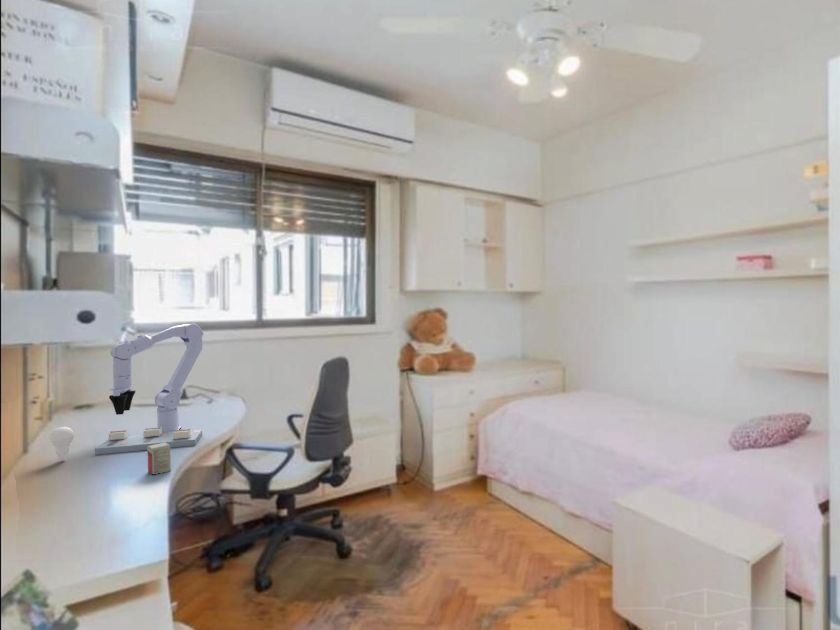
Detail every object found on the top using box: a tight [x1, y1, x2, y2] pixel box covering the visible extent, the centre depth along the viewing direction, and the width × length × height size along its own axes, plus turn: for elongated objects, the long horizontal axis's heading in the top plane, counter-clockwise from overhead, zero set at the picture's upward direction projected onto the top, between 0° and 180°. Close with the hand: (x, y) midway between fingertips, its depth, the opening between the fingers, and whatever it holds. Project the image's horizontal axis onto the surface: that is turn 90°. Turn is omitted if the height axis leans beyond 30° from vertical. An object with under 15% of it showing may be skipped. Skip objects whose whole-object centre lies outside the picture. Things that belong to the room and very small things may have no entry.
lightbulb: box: [49, 426, 75, 462], centre depth 148 cm, size 6×6×11 cm
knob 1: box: [108, 429, 129, 440], centre depth 166 cm, size 4×5×2 cm
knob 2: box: [143, 426, 162, 437], centre depth 170 cm, size 4×5×2 cm
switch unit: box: [94, 429, 203, 456], centre depth 166 cm, size 15×30×2 cm, turn 107°
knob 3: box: [173, 428, 192, 439], centre depth 166 cm, size 4×5×2 cm
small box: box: [146, 443, 172, 475], centre depth 136 cm, size 5×4×8 cm
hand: (123, 412), depth 172 cm, fingers open, 7 cm apart
